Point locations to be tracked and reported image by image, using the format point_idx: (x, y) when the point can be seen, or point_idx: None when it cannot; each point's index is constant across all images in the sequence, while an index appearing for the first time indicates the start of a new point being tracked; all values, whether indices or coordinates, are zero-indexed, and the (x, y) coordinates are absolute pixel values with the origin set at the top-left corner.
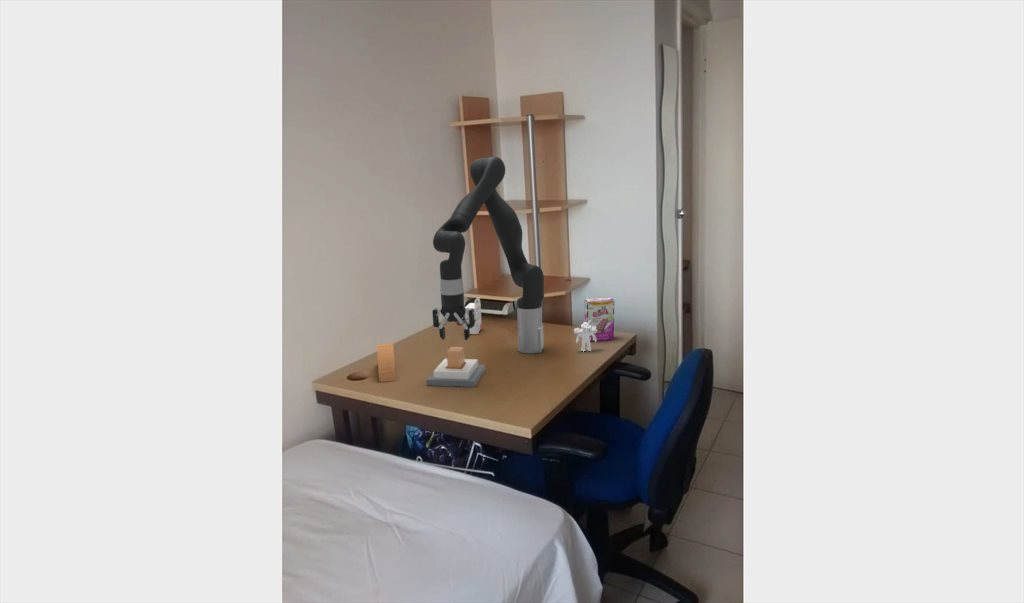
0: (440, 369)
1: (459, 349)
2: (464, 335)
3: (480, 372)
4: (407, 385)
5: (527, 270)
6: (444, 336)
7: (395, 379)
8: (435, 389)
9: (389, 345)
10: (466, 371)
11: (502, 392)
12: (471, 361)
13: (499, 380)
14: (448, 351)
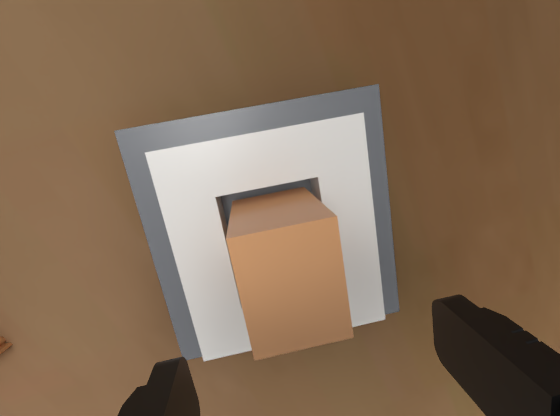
0: (226, 329)
1: (324, 279)
2: (475, 402)
3: (386, 188)
4: (104, 369)
5: None
6: (186, 404)
7: (4, 349)
8: (247, 363)
9: None
10: (372, 309)
11: (505, 304)
12: (338, 158)
13: (466, 194)
14: (261, 346)
